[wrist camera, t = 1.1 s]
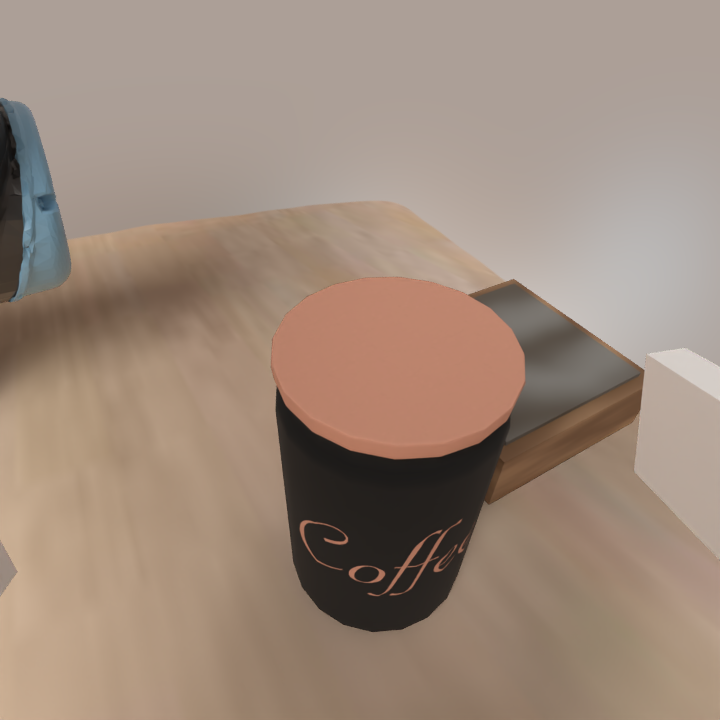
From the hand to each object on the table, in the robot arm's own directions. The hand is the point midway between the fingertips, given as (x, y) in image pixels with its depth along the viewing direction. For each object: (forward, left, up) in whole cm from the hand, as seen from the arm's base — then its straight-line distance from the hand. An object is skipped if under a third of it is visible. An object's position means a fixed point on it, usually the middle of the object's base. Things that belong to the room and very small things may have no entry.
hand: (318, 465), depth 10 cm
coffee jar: (-7, +7, -24) cm, 26 cm away
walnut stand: (-14, +24, -23) cm, 37 cm away
